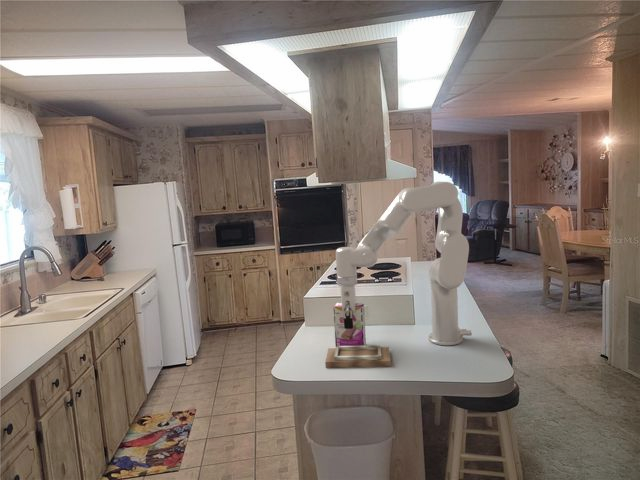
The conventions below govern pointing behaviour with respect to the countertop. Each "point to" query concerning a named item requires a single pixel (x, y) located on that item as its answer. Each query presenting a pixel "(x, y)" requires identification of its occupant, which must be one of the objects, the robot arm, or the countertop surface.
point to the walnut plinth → (358, 356)
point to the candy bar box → (350, 335)
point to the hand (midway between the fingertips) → (349, 324)
